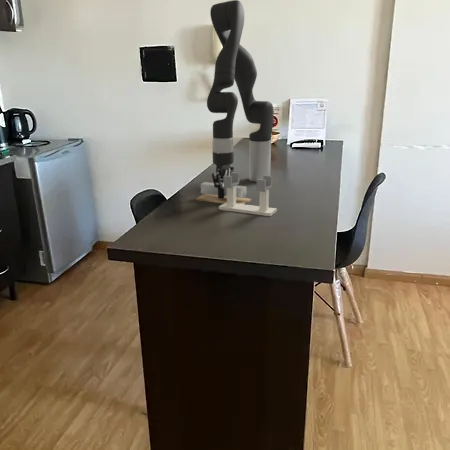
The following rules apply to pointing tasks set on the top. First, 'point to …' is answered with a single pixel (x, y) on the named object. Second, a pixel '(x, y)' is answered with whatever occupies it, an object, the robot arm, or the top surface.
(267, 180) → the rail stand
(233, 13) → the robot arm
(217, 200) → the mat
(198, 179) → the top surface
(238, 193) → the rail
